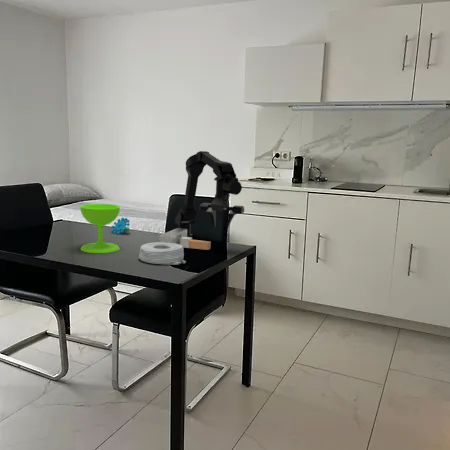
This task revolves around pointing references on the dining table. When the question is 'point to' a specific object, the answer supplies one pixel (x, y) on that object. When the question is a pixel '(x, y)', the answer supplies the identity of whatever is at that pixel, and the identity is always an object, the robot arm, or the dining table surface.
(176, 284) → the dining table surface
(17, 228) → the dining table surface
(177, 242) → the grey long block
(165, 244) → the cable
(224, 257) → the dining table surface
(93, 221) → the wineglass
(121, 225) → the blue lumpy cluster
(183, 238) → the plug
